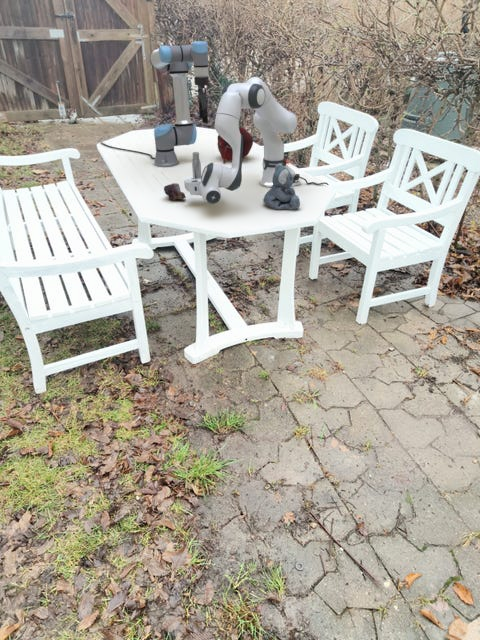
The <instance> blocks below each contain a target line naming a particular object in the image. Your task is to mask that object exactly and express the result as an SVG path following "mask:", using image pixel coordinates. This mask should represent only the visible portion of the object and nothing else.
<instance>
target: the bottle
mask: <svg viewBox="0 0 480 640" xmlns="http://www.w3.org/2000/svg"><path fill="white" fill-rule="evenodd" d="M191 170H192V178H195V179H199V178H201V177H202V162H201V159H200V152H198V151H194V152H192V161H191Z"/></svg>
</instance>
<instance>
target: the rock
mask: <svg viewBox="0 0 480 640" xmlns="http://www.w3.org/2000/svg"><path fill="white" fill-rule="evenodd" d="M163 191H164V193H165V195H166V196H167V197H168V199H170V200H172V201H174V200H183V199H186V198H187V196H186V193H184V192H183V191H181V187H180V184H179V183H175V182H174V183H171V184H167V185H164V187H163Z"/></svg>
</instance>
